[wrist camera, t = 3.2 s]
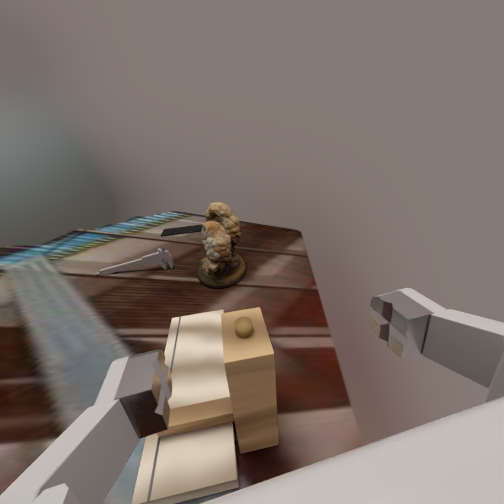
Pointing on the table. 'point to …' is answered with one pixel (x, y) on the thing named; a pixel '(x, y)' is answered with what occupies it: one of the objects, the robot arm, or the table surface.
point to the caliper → (142, 262)
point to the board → (195, 441)
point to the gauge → (239, 386)
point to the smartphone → (182, 230)
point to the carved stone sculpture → (221, 248)
